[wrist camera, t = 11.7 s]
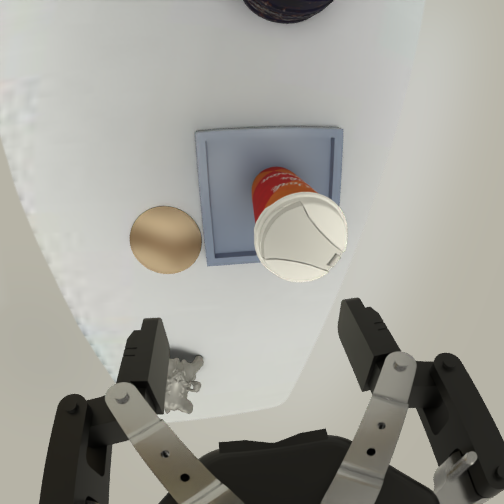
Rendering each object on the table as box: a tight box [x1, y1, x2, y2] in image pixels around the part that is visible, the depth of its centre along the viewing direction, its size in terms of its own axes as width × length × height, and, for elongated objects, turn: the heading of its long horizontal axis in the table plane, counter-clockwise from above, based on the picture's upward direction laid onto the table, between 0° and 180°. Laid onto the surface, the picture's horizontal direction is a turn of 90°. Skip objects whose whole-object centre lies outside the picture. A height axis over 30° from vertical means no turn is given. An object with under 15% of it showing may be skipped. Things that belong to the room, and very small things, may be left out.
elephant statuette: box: [164, 356, 204, 414], centre depth 47 cm, size 9×12×8 cm
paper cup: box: [252, 167, 347, 282], centre depth 30 cm, size 8×8×14 cm
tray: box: [195, 126, 343, 266], centre depth 36 cm, size 16×16×2 cm
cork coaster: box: [130, 206, 202, 274], centre depth 38 cm, size 9×9×1 cm
